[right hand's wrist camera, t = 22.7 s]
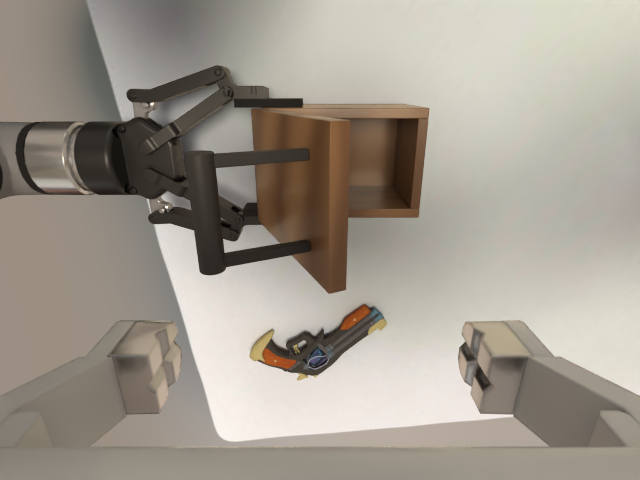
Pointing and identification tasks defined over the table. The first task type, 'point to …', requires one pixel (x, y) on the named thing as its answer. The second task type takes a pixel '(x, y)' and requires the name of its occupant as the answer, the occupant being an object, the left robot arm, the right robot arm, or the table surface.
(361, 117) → the chest
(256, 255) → the lid
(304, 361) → the toy gun
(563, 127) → the table surface
